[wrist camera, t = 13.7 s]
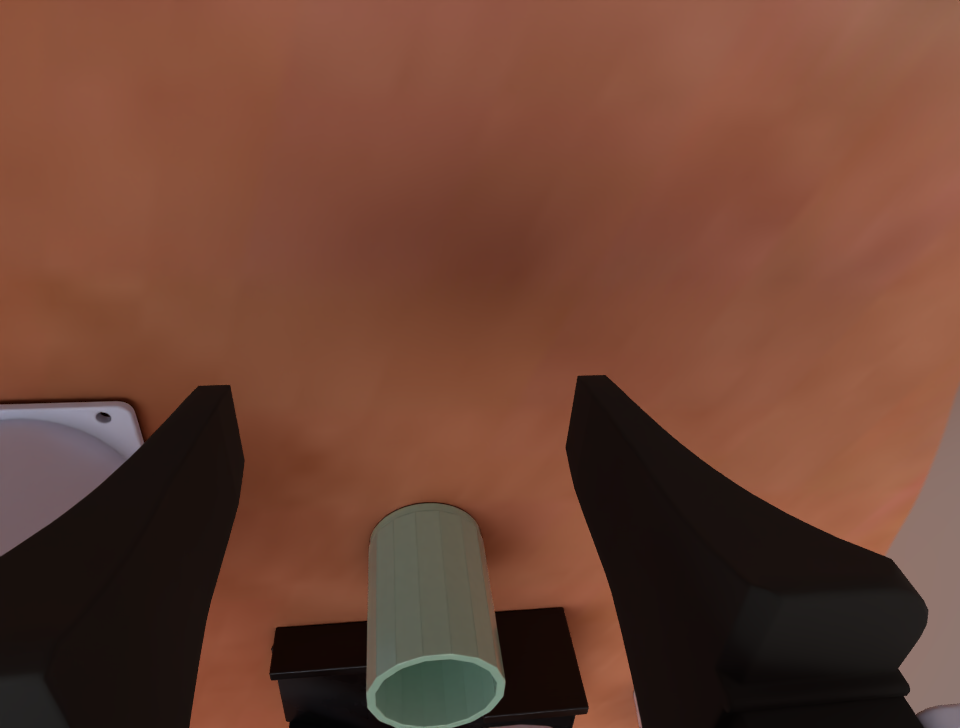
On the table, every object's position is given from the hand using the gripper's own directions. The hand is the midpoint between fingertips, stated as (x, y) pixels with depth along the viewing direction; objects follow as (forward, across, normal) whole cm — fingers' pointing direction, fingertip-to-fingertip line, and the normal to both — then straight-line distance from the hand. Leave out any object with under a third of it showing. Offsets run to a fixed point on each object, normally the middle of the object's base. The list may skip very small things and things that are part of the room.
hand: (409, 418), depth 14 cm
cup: (+10, -1, +16) cm, 19 cm away
